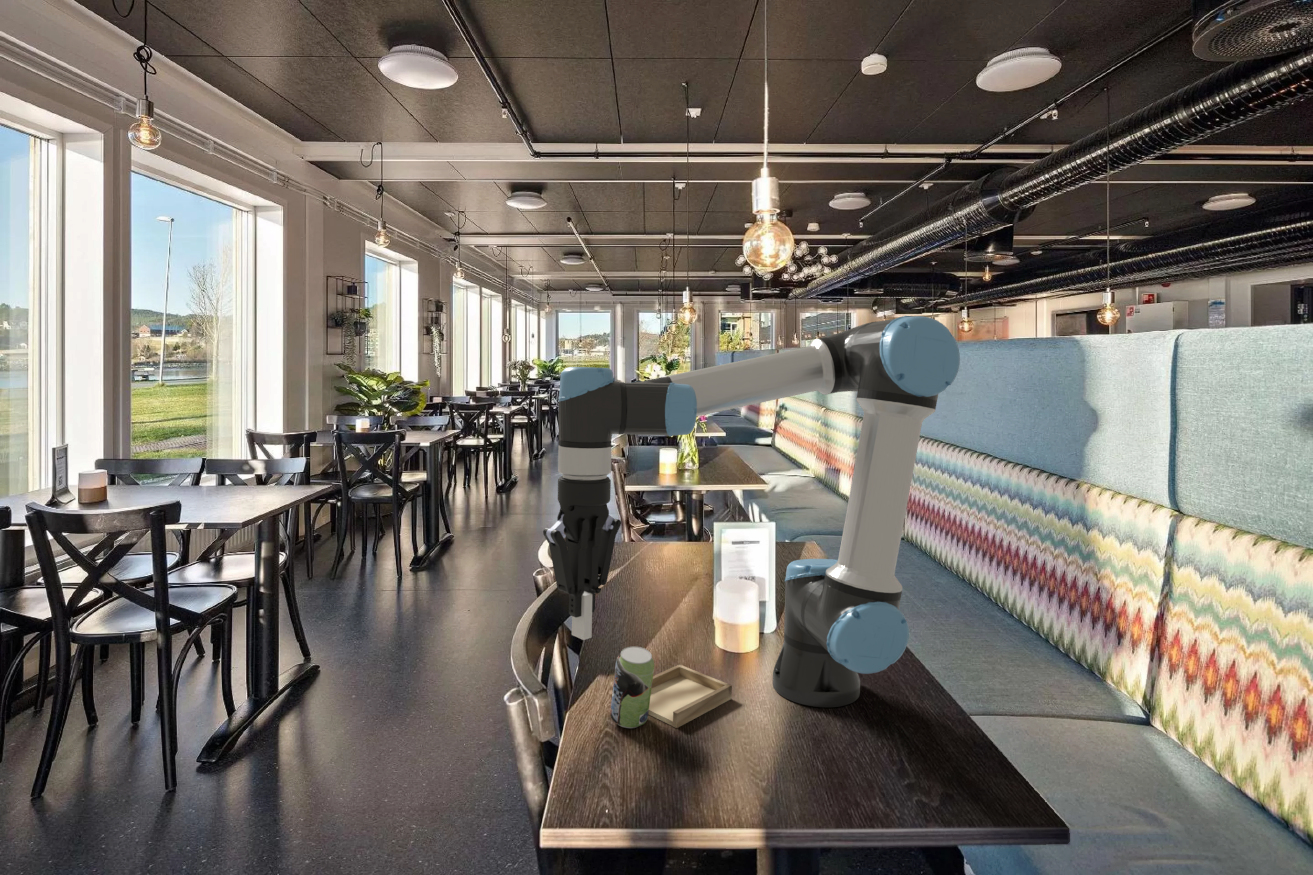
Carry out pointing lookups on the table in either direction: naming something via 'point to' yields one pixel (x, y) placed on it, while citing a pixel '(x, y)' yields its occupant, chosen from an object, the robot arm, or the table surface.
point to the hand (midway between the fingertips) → (581, 635)
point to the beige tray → (685, 695)
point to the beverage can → (632, 687)
